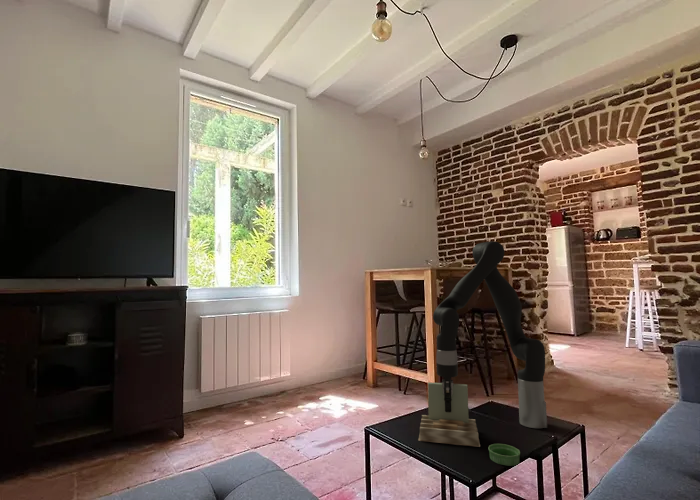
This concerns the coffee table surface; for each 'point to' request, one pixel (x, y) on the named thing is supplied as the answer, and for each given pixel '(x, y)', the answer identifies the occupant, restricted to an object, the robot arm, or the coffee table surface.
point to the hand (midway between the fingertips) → (448, 410)
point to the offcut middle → (451, 422)
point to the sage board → (457, 404)
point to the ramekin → (506, 450)
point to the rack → (449, 433)
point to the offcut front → (445, 426)
